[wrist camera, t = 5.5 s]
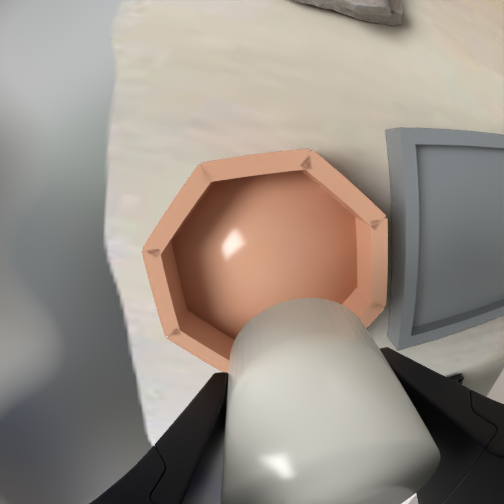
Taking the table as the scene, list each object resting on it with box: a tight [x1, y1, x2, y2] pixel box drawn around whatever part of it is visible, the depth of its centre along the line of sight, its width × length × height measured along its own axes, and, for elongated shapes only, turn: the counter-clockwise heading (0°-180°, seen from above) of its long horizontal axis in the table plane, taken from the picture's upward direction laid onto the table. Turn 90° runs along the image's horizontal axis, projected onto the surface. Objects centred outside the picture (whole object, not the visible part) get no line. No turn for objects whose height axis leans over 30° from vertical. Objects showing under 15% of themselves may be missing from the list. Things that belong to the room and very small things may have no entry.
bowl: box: [142, 149, 388, 374], centre depth 17 cm, size 13×13×4 cm
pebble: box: [221, 298, 440, 504], centre depth 6 cm, size 4×4×5 cm
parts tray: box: [385, 128, 504, 350], centre depth 18 cm, size 15×15×2 cm
